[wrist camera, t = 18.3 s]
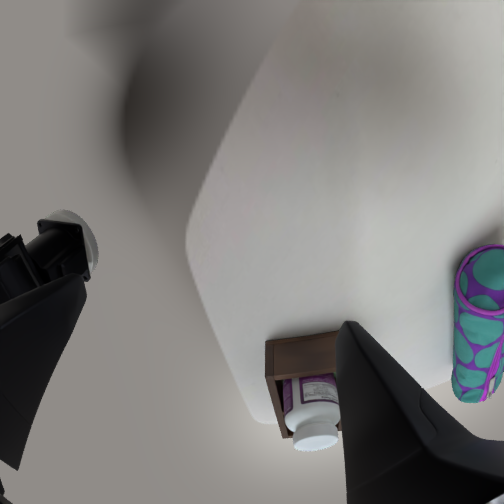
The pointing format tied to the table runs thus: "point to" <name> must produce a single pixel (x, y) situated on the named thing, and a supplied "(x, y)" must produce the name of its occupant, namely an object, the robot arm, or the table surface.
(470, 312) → the pencil case
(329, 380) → the pill bottle
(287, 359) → the compartment box
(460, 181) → the table surface
